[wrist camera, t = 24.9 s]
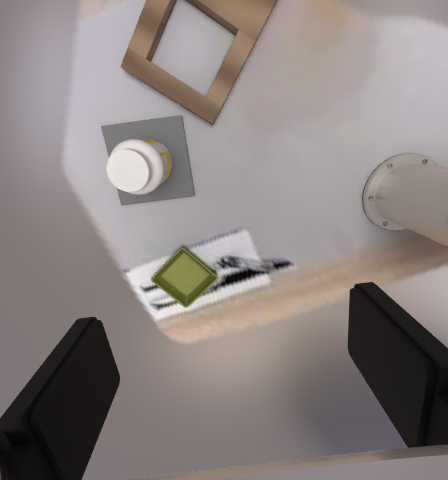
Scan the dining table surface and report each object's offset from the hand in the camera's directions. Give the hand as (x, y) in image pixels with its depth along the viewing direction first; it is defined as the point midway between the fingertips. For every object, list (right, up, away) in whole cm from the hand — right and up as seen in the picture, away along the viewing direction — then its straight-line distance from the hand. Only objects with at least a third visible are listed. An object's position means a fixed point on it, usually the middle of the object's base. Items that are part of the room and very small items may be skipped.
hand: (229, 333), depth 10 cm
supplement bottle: (-11, +16, +32) cm, 38 cm away
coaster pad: (-12, +16, +33) cm, 38 cm away
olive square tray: (-7, -3, +40) cm, 41 cm away
